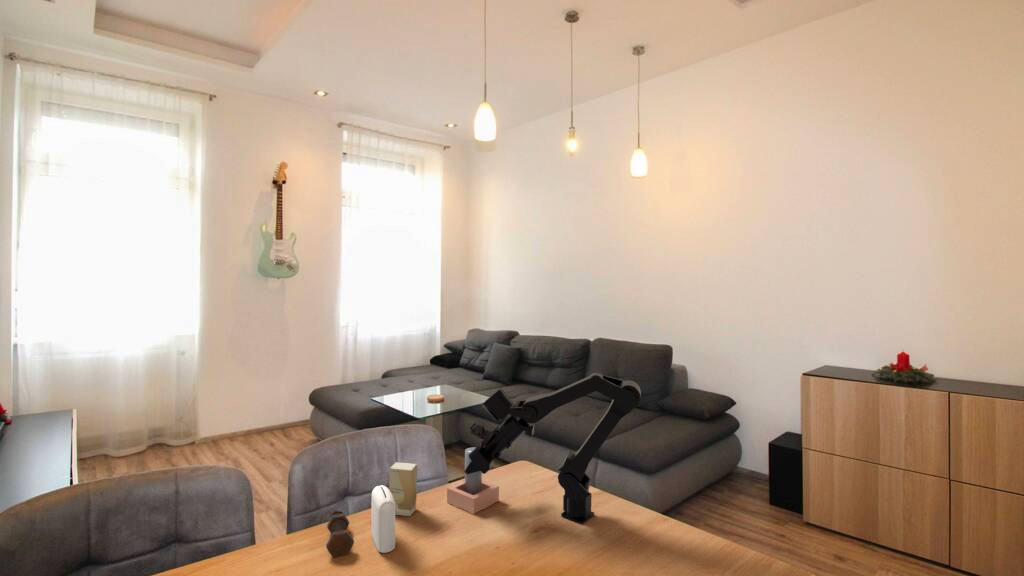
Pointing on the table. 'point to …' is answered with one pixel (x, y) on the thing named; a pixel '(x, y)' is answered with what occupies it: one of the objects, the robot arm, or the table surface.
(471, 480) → the grey dome-topped post
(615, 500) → the table surface
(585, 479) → the robot arm
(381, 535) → the photo printer
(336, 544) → the bolt
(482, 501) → the tray
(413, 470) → the skincare box
